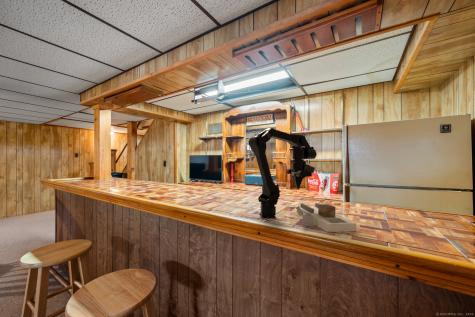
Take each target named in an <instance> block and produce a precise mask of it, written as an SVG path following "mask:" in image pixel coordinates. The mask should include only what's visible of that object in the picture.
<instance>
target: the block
mask: <svg viewBox="0 0 475 317" xmlns="http://www.w3.org/2000/svg"><path fill="white" fill-rule="evenodd" d="M336 208H337V207H336V206H335V205H332V204H329V203H327V204H326V203H324V204H323V203H322V204H320V203H318V215H320V216H322V217H324V218H333V217H335V214H336Z"/></svg>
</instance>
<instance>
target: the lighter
mask: <svg viewBox="0 0 475 317" xmlns="http://www.w3.org/2000/svg"><path fill="white" fill-rule="evenodd" d="M295 210H296V212H297V211H298V213H297V214H298V216H299V217H302V226H303V227H304V226H306V227H314V223H313V215H311V213H307V212H306V214H303V213H302V211H301V209H300V205H298V204H297V205H296V206H295ZM301 215H303V216H301Z"/></svg>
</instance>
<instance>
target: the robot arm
mask: <svg viewBox="0 0 475 317" xmlns="http://www.w3.org/2000/svg"><path fill="white" fill-rule="evenodd" d="M271 139H275V140H278V141H283V142H286V143H287V144H288V145H290V146H291V147H289V151H292V160H291V161H290V162H291V164H292V168H288V169H287V170H286V172H285V174H286V175H289V176H290V177H291V179H292V182H293V184H294V186H295V188H296V189H297V190H300V188H301V185H302V182H303V180H304V179H305V178H307V177H308V178H309V177H311V178H312V177H313V174H314V172H315V170H316V168H315V167H314V166H312V165H310V164H308V163H307V161H305V160H315V159H316V158H317V156H318V155H317V154H318V153H317V151H316V149H315V146H310V143H309V142H308V140H307V138H306V136H305V134H291V133H288V132H285V131H281V130H278V129H275V128H273V127H269V128H266V129H264V130H263V131H261V132H260V133H258V134H256V135H255V136H254V135H253V136H250V138H249V139H248V146H249V149H250V150H251V151H252V153H253V154H254V156H255V158H256V162H257V166H258V169H259V170H258V171H259V174H260V177H261V182H262V188H261V191H262V192H261V194H260V195H259V196H258V198H257V200H258V202H259V203H260V213H259V215H260V217H261V218H263V219H269V218H272V219H275V218H276V217H277V216H276V214H277V211H276V210H277V208H276V206H277V204H278V201H279V199H280V196H281V190H280V185H279V184H278V183H275V182H274V180H273V177H272V174H271V173H272V172H271V169H270V166H269V162H268V157H267V154H266V151H267V147H268V146H267V143H268V142H269V141H270V140H271Z"/></svg>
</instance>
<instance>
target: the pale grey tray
mask: <svg viewBox="0 0 475 317" xmlns="http://www.w3.org/2000/svg"><path fill="white" fill-rule="evenodd" d="M299 204H300V205H299V207H300V209H301V211H302V213H303V214H306V212H307V213H311V215H313V225H316V226H317V227H319V228H320V229H322V230H323V231H324V232H326V233H337V232H338V233H340V232H341V233H342V232H356V231H357V223H356V222H355V221H352V220H350V219H348V218H346V217H343V216H341V215H339V214H337V213H335V217H333V218H324V217H322V216H320V215H318V204H319V203H318V202H315V203H314V206H308V205H307V204H305V203H299ZM296 213H297V214H298V211H297V210H296ZM300 217H303V215H301V216H300Z"/></svg>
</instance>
